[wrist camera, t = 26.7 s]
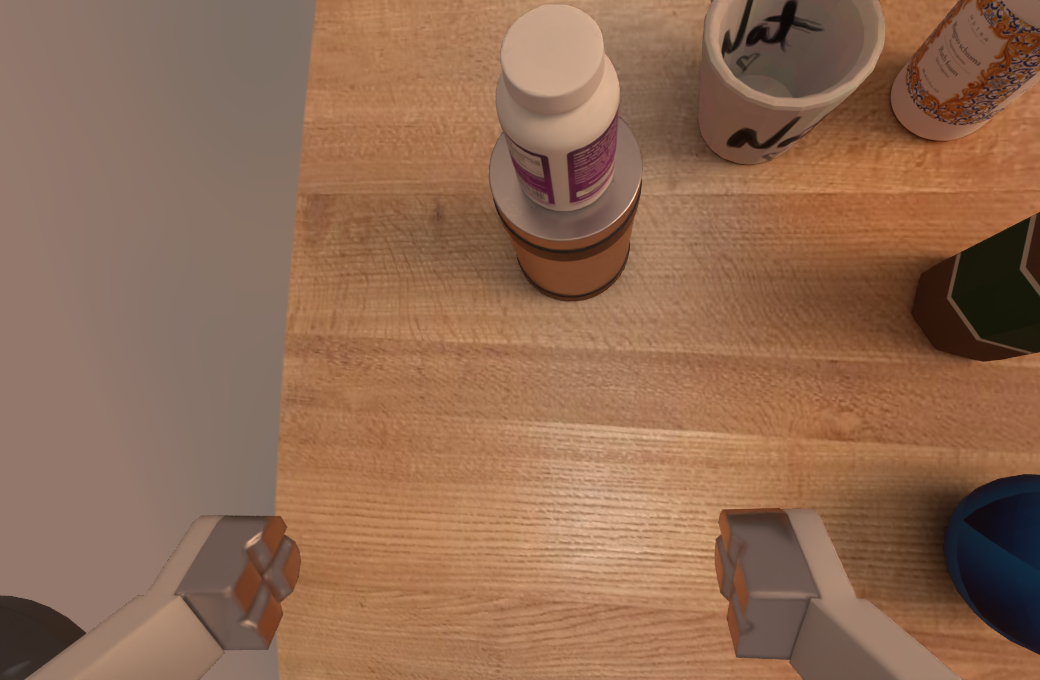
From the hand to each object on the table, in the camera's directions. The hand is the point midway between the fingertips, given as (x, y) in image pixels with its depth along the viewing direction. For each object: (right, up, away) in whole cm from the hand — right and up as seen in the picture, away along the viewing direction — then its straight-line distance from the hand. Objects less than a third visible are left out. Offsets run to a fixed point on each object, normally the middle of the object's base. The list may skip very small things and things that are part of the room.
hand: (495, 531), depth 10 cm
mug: (+17, +22, +34) cm, 44 cm away
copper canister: (+5, +11, +33) cm, 35 cm away
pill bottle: (+3, +13, +20) cm, 24 cm away
